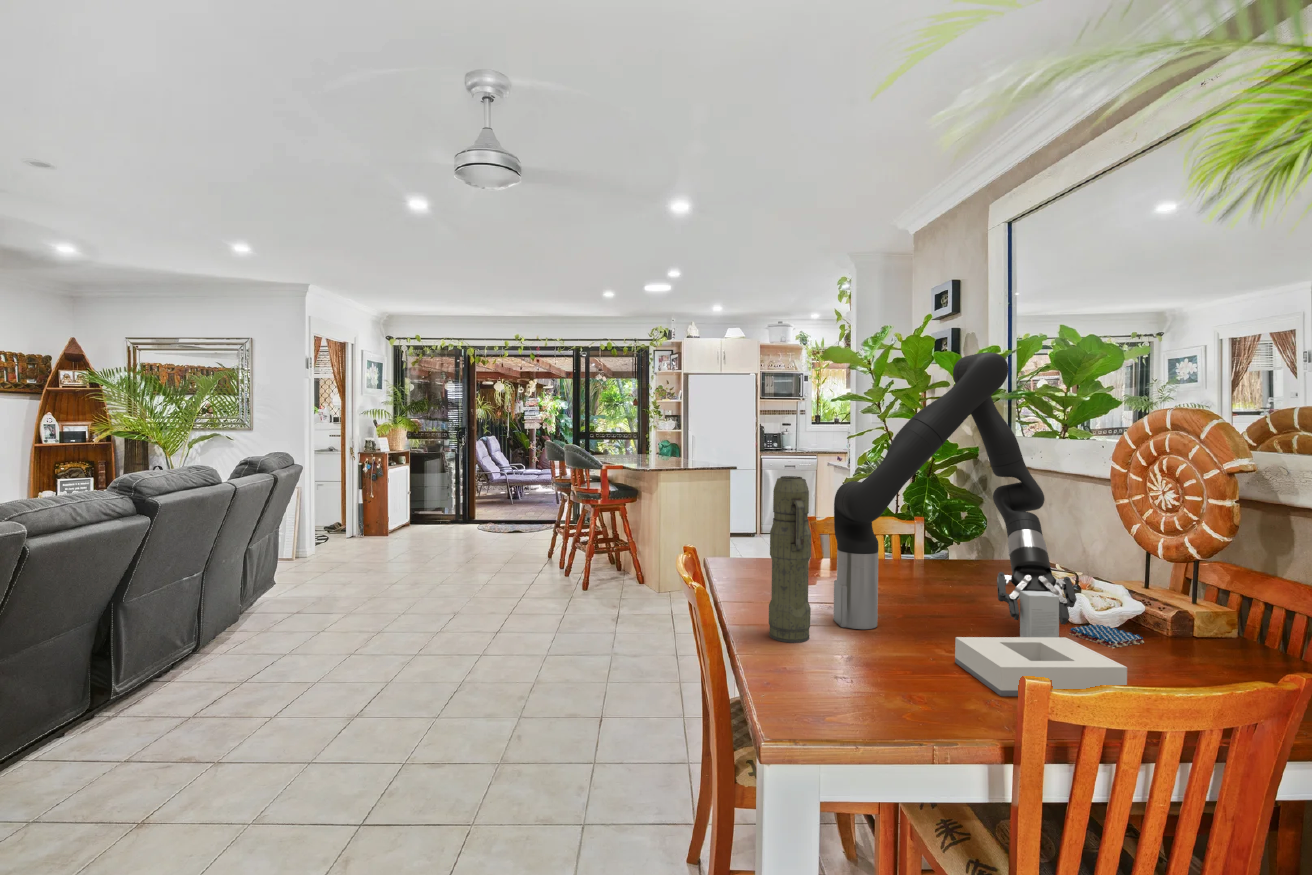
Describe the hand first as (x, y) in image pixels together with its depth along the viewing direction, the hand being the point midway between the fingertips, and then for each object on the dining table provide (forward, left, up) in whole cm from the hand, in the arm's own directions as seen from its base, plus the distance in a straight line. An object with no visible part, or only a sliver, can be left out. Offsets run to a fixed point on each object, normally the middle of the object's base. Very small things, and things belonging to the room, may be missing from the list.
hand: (1040, 620), depth 133 cm
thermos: (-50, +10, -7) cm, 51 cm away
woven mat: (+20, +9, -7) cm, 23 cm away
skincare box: (0, +1, -7) cm, 7 cm away
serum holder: (-10, -14, -7) cm, 18 cm away
